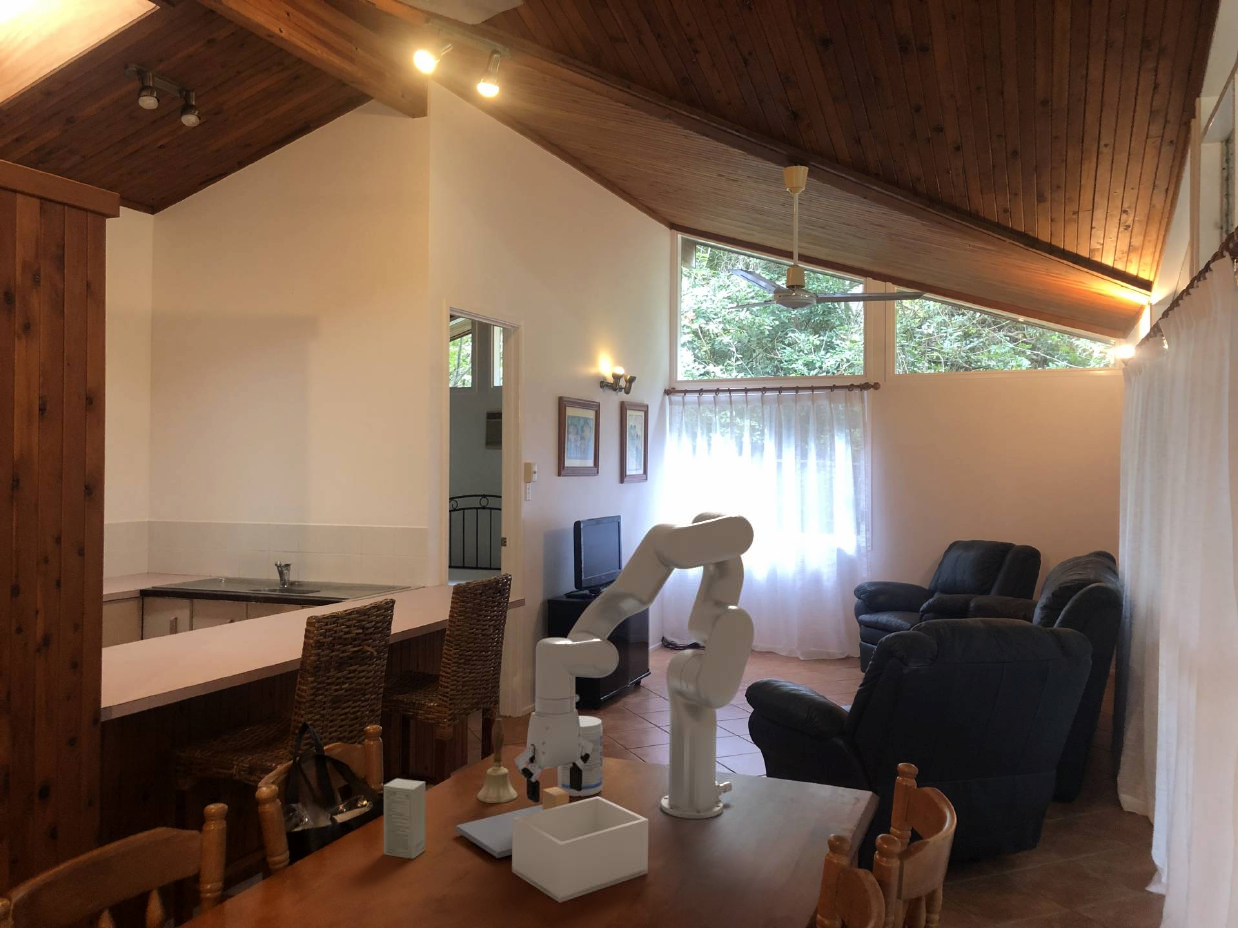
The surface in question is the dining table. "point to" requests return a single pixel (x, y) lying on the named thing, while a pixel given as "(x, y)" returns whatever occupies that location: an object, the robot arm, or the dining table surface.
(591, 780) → the supplement tub
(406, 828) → the skincare box
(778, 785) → the dining table surface
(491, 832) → the grey board with block
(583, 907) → the dining table surface
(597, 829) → the parts tub
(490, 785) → the hand bell
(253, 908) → the dining table surface
